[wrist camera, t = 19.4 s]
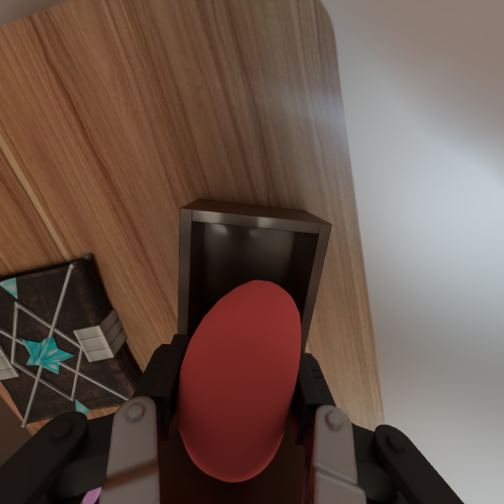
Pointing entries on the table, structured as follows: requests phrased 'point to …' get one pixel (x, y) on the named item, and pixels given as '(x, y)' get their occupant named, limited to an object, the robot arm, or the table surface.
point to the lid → (221, 492)
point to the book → (61, 343)
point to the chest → (247, 256)
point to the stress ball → (240, 381)
